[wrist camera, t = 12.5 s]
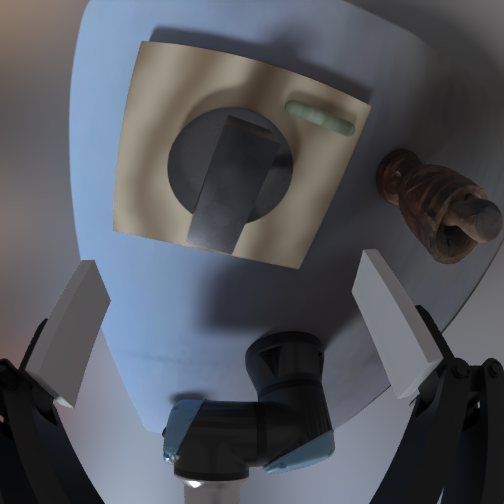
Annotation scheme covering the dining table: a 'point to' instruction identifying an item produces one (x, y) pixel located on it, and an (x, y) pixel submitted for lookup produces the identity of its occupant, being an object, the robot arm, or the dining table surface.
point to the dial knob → (228, 173)
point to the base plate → (231, 95)
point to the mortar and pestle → (438, 205)
